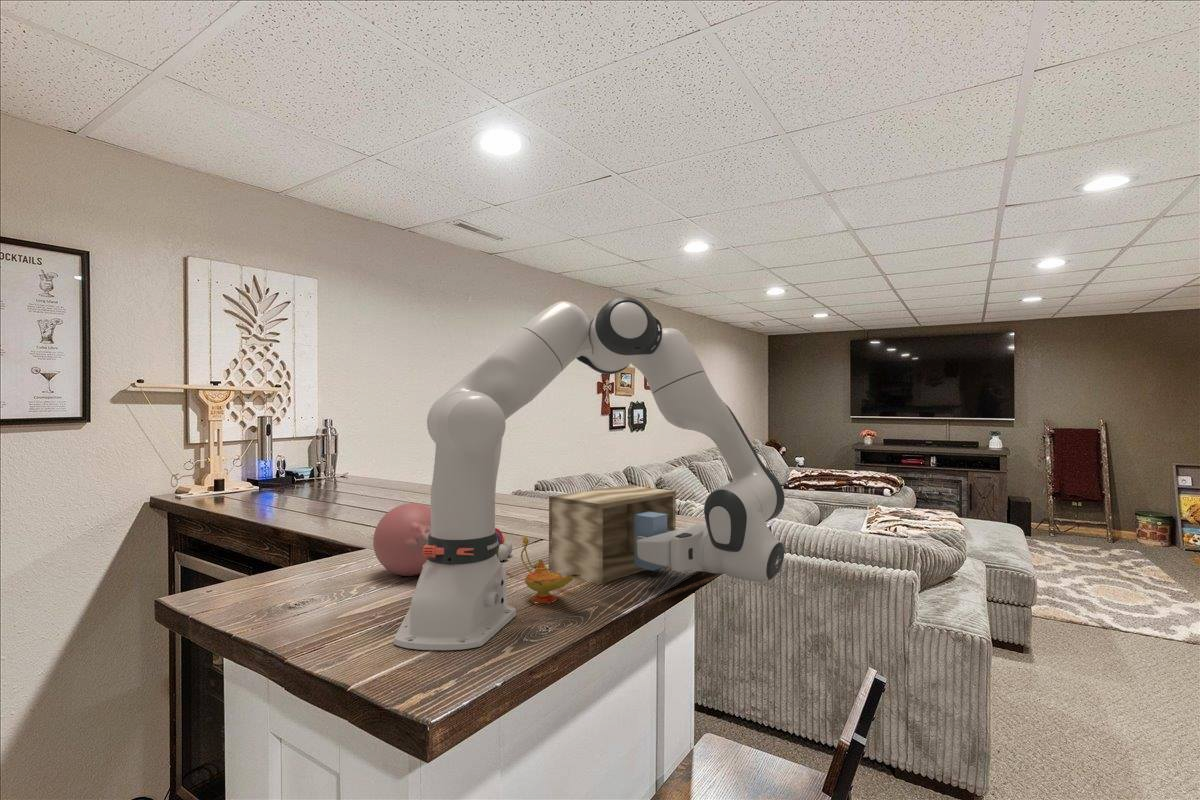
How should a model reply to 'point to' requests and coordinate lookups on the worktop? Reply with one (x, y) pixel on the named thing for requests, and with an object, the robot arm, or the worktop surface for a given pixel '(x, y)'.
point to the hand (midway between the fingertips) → (647, 537)
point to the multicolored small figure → (503, 546)
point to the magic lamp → (543, 579)
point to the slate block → (648, 533)
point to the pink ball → (403, 538)
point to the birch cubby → (601, 530)
